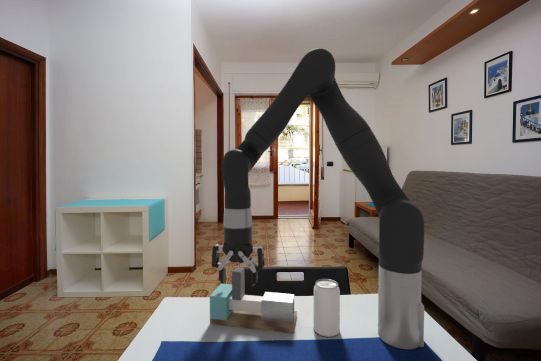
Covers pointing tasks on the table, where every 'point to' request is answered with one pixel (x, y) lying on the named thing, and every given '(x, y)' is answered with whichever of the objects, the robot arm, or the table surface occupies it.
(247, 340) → the table surface
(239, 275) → the sliding bolt
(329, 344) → the table surface
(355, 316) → the table surface
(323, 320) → the can
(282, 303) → the grey speckled block
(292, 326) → the board
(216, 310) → the socket
